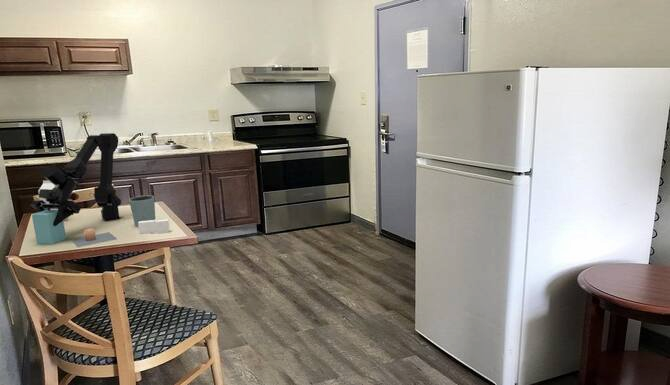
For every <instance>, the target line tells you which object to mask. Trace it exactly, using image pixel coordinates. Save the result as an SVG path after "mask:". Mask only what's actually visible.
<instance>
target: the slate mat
mask: <svg viewBox="0 0 670 385" xmlns="http://www.w3.org/2000/svg"><path fill="white" fill-rule="evenodd" d="M95 236H96V239H95V240H91V241H86V240H85V236H84V237H78V238H72V239H70V240H71V242H72V243H73V244H74V245H75V246H76V247H77V248H81V247H86V246H90V245H94V244H101V243H105V242H109V241H115V240H118V238H117V237H116V236H114V235H113V233H111V232H110V231H108V232H103V233H98V234H95Z"/></svg>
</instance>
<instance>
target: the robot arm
mask: <svg viewBox="0 0 670 385" xmlns="http://www.w3.org/2000/svg"><path fill="white" fill-rule="evenodd" d="M118 146H119V136H117V134H116V133H114V132H112V133H111V132H110V133H109V132H106V133H102V132H101V133H99V135H98V134H90V135H88V136H87V137H86V141H85V142H84V144H83V145H82V147H81V148H80V150H79V151H78V153H77V155H76V156H75V157H74V158H73V159H71V160H70V161H69V162H68V163H66V164H65V166H64V167H63V168H62V167H61V166H60V165H59V164H58V163H52V164H51V165H50V166H47V167H46V168H45V169H44V170H43V171H42V176H43V177H44V178H45V179H46V180H47V181H50V182H51V183H52V184H54V185H58V186H57V188H53V189H52V190H49V189H40V188H39V189H40V192H38V198H39V199H35V200H32V201H31V203H30V206H31V207H32V208H34V209H35V210H36V211H37V213H38V212H41V211H45V210H50V209H58V214H57V216H56V218H55V220H54V223H53V226H56V225H58V224H59V223H61V222H62V221H63V220H65V219H66V218H69V217H71V216H74V214H79V213H80V212H81V205H79V204H78V203H76V202H75V201H74V200H72V199H73V197H72V196H71V195H73V194H72V193H73V192H74V190H75V189H80V188H81V186H80V184H79V181H75V180H80V179H82V180H83V178H84V177H85V175H86V172H87V170H88V167H87V164H89V161H90V160H91V158H92V156H93V155H94V153H95V151H96V150H97V148H98V149H99V151H100V169H99V170H100V172H99V184H98V186H97V187H94V189H93V190H94V191H93V192H94V193H93V197H94V200H95V203H96V204H97V206H98V207H101V209H100V214H101V219H102V220H104V221H105V222H107V221H113V220H118V219H119V220H120V219H121V218H122V217H121V216H120V211H119V206H120V205H122V199H121V198H119V197H118V196H117V195H116V189H115V187H114V186H113V172H114V171H113V170H114V169H113V168H114V153H115V152H116V150H117V149H118ZM40 198H45V199H46V201H47V202H49V204H47V203H46V202H44V201H43V200H40ZM65 221H66V220H65ZM63 222H64V221H63Z"/></svg>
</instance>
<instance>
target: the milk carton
mask: <svg viewBox="0 0 670 385" xmlns="http://www.w3.org/2000/svg"><path fill="white" fill-rule="evenodd" d="M57 186H58V185H54V184H52V183H51V182H50V181H49V180H42V185H41V186H40V188H38V191H37V192H38V193H39V192H40V189H49V190H52V189H53V188H57ZM39 200H43V201H44V202H46V203H47V204H49V202H47V201H46V199H45V198H39ZM50 210H58V209H50ZM68 220H70V219H69V217H68V218H66V219H65V220H63V222H64V221H65V222H66V221H68Z"/></svg>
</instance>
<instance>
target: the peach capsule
mask: <svg viewBox="0 0 670 385" xmlns="http://www.w3.org/2000/svg"><path fill="white" fill-rule="evenodd" d="M83 232H84V237H85V240H86V241H91V240H95V239H96V236H95V235H96V231H95V228H93V227H90V228H89V227H88V228H86V229H84V230H83Z"/></svg>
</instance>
